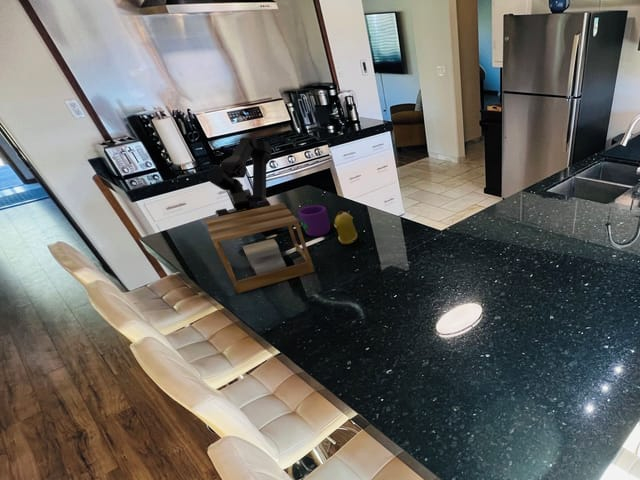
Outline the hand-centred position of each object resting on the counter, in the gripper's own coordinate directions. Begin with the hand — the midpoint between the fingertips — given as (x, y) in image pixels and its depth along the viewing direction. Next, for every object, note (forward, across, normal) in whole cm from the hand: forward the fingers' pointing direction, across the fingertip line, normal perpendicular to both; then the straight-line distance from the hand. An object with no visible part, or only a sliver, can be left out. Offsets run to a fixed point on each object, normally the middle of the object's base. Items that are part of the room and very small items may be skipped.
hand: (253, 232), depth 151 cm
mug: (-2, +24, +17) cm, 30 cm away
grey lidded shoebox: (+17, 0, -2) cm, 17 cm away
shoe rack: (+16, 0, -2) cm, 17 cm away
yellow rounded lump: (+13, +32, +2) cm, 35 cm away
